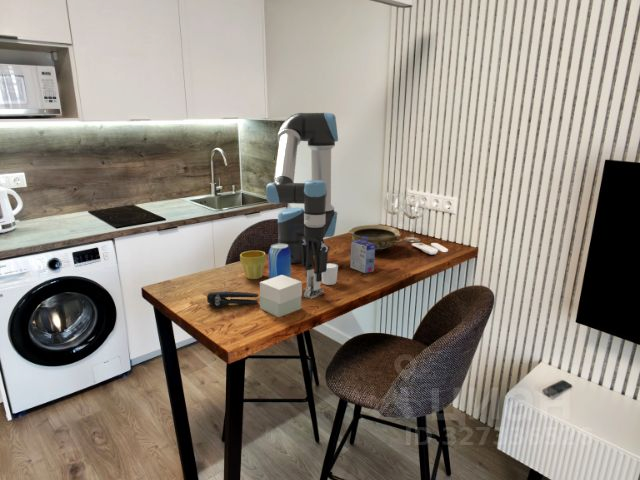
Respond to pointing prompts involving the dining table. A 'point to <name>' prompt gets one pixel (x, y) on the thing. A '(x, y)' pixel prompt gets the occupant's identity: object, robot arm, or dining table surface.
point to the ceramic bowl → (376, 235)
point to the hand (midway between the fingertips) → (313, 287)
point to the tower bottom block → (280, 306)
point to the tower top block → (280, 289)
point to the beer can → (279, 260)
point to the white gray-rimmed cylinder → (330, 274)
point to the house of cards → (312, 290)
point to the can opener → (221, 298)
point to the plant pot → (253, 263)
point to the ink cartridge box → (362, 255)
